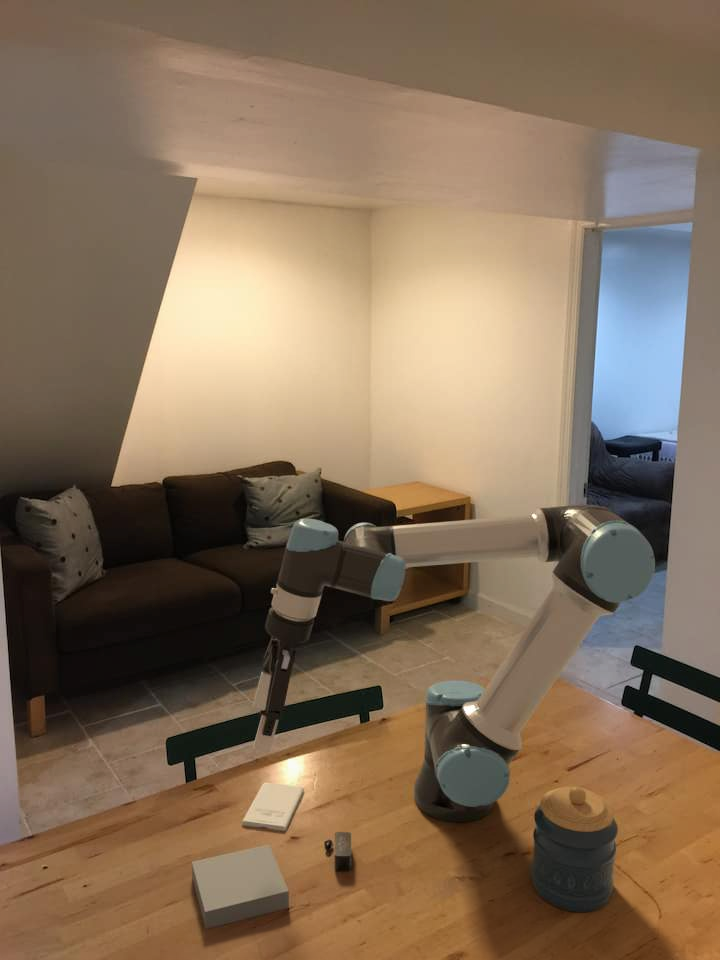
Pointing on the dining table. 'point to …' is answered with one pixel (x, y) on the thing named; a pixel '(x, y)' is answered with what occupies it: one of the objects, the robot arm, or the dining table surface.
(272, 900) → the stand
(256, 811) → the external hard drive
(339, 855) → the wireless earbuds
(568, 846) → the canister
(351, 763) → the dining table surface
